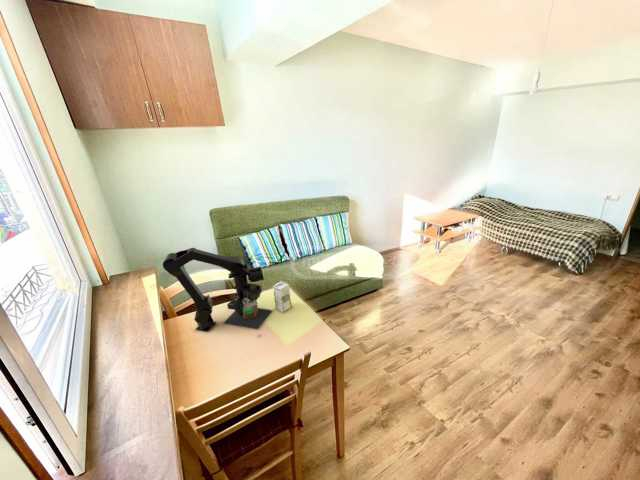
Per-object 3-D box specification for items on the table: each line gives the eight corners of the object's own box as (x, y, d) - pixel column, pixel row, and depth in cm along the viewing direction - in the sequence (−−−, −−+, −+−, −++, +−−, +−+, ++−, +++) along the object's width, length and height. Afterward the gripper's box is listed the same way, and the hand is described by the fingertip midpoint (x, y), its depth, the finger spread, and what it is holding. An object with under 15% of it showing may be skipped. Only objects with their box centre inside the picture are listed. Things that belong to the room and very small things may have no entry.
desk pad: (224, 323, 136) (224, 322, 135) (240, 306, 148) (240, 305, 147) (257, 329, 132) (257, 327, 131) (271, 311, 144) (271, 310, 143)
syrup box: (284, 303, 150) (280, 280, 143) (291, 307, 147) (288, 284, 140) (275, 308, 146) (272, 285, 139) (283, 312, 143) (280, 289, 136)
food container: (233, 316, 139) (229, 299, 135) (243, 309, 144) (239, 293, 139) (250, 323, 134) (247, 307, 129) (260, 316, 139) (257, 300, 134)
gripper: (245, 296, 121) (251, 324, 128) (266, 275, 137) (271, 301, 144) (223, 293, 123) (230, 321, 130) (246, 273, 139) (251, 298, 146)
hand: (247, 310), depth 138 cm, fingers open, 9 cm apart
